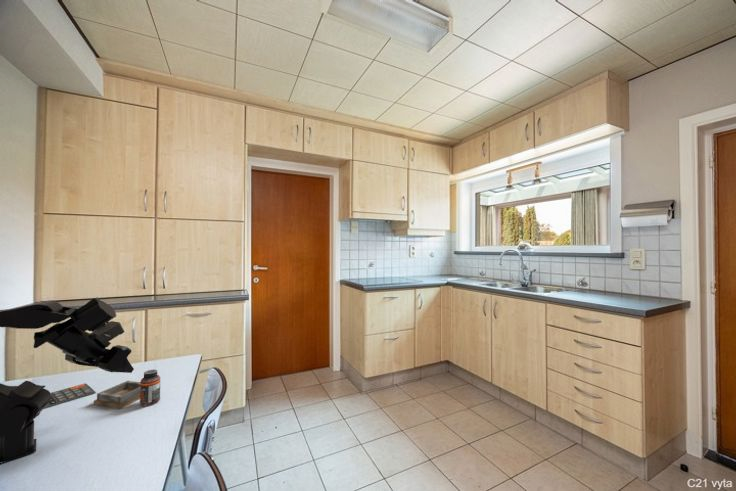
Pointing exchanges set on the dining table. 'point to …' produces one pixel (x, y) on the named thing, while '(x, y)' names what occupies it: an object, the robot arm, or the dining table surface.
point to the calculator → (70, 394)
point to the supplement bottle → (150, 388)
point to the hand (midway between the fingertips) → (121, 368)
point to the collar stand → (119, 395)
